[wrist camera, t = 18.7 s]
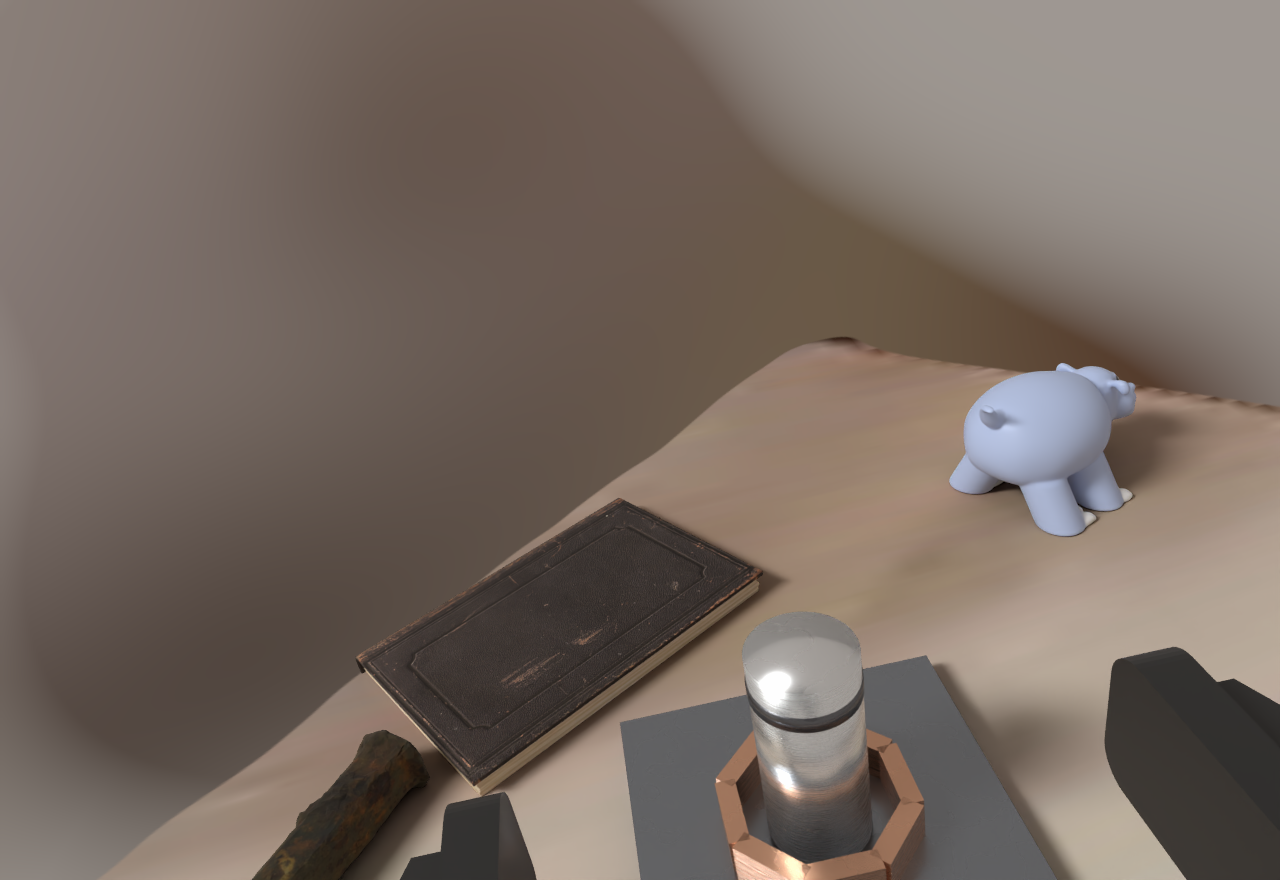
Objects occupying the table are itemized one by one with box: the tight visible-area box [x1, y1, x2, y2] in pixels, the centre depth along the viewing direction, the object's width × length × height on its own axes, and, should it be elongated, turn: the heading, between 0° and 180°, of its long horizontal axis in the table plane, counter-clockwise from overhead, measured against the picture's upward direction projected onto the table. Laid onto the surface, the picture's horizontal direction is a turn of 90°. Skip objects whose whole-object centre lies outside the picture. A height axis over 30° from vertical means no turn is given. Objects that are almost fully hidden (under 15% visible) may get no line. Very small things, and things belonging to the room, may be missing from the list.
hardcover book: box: [356, 498, 763, 797], centre depth 61 cm, size 16×23×2 cm
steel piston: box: [742, 612, 872, 864], centre depth 42 cm, size 5×5×11 cm
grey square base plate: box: [620, 656, 1057, 880], centre depth 44 cm, size 18×18×3 cm
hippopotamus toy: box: [950, 363, 1136, 536], centre depth 65 cm, size 11×15×10 cm
